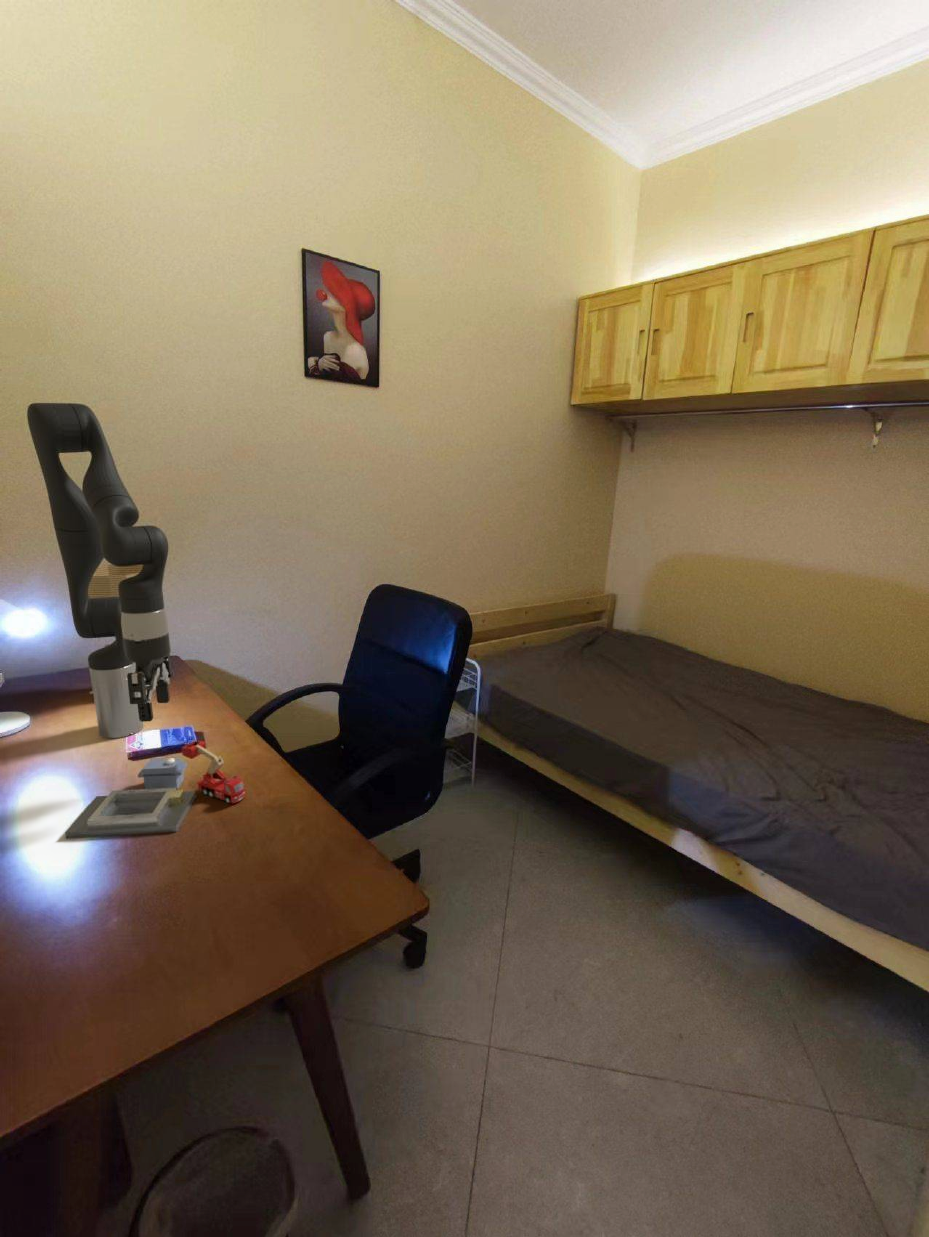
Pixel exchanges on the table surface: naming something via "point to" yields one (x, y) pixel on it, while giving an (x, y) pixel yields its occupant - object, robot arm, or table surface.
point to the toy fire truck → (215, 775)
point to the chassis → (133, 813)
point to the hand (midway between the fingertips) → (155, 711)
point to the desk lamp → (110, 582)
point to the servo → (163, 773)
